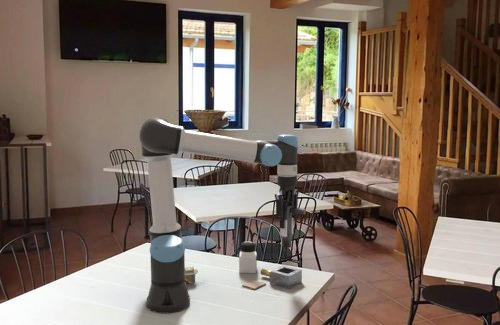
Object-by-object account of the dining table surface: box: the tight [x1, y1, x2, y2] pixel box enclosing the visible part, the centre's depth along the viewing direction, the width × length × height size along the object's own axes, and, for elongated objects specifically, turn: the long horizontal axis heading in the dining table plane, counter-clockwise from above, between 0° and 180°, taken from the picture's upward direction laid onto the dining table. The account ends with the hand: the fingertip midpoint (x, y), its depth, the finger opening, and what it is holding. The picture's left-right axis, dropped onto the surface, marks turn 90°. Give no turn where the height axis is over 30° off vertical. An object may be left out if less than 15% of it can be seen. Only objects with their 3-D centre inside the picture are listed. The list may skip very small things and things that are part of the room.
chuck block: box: [260, 264, 303, 290], centre depth 200 cm, size 9×16×5 cm, turn 52°
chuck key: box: [281, 205, 307, 249], centre depth 194 cm, size 10×4×16 cm, turn 52°
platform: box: [185, 266, 199, 285], centre depth 197 cm, size 12×18×7 cm, turn 108°
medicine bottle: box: [238, 241, 258, 274], centre depth 212 cm, size 7×7×12 cm
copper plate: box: [241, 279, 267, 291], centre depth 196 cm, size 7×6×1 cm
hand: (286, 234), depth 196 cm, fingers closed on chuck key, 3 cm apart
